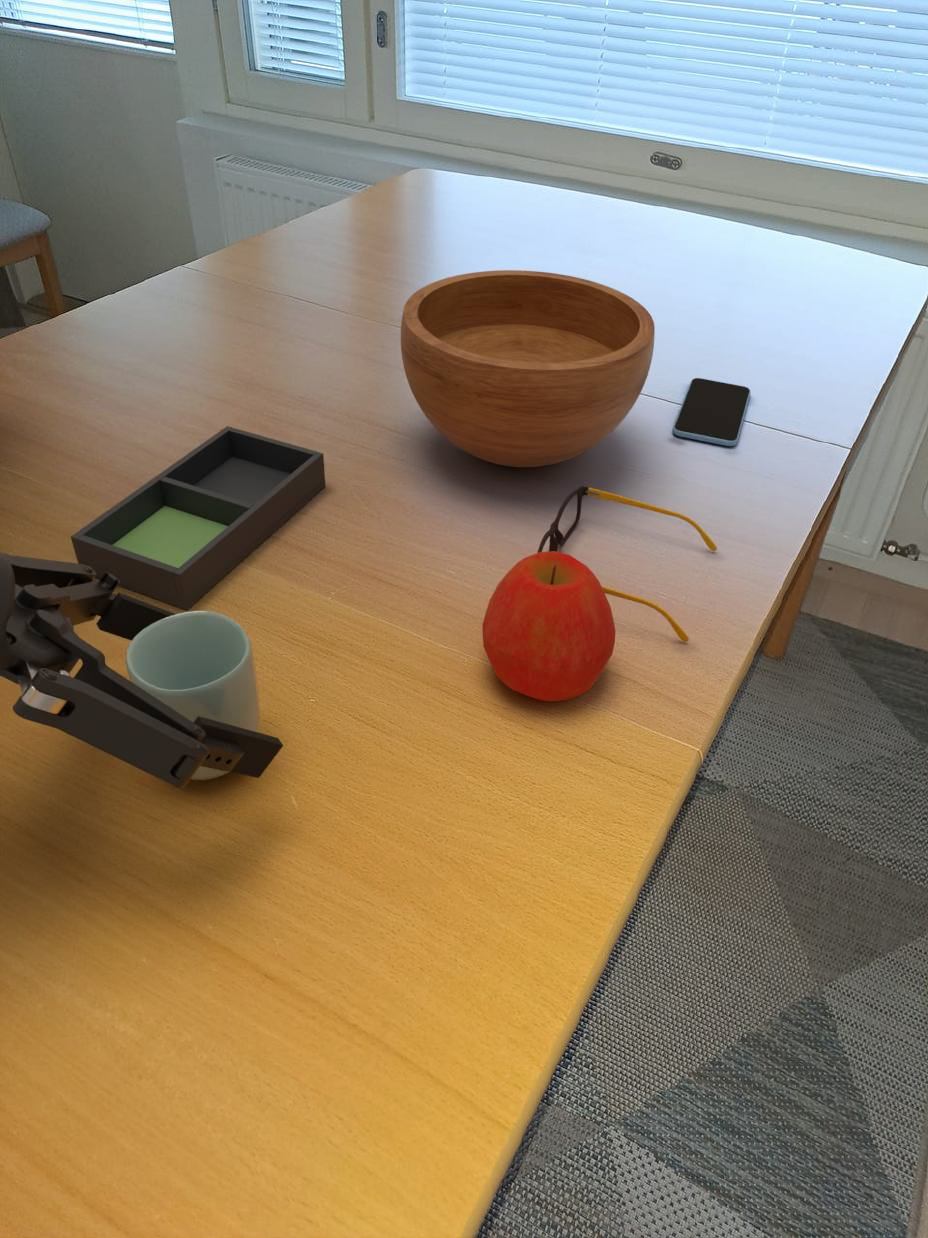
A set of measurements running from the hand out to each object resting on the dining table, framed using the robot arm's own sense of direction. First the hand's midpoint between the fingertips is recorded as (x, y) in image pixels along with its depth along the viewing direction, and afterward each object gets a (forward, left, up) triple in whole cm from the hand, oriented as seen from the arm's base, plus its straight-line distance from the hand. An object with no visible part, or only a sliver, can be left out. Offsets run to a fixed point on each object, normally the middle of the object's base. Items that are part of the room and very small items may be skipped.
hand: (224, 694), depth 62 cm
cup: (-1, -1, -5) cm, 6 cm away
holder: (-18, +22, -5) cm, 29 cm away
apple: (+17, +18, -5) cm, 25 cm away
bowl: (+2, +49, -5) cm, 49 cm away
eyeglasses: (+19, +33, -5) cm, 38 cm away
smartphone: (+19, +68, -5) cm, 70 cm away
